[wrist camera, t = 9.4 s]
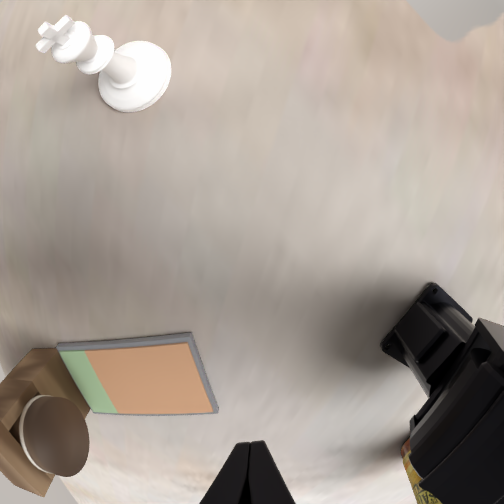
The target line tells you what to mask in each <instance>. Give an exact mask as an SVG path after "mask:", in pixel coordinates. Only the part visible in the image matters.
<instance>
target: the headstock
mask: <svg viewBox="0 0 504 504" xmlns="http://www.w3.org/2000/svg"><path fill="white" fill-rule="evenodd" d="M39 395H49V396H53V397H62V398H66V399H68V400H70V401H71V402H73V403H74V404H75V405H76V406H77V407H78V409H79V410H80V411H81V413H82V415H83V417H84V419H85V418H86V416H87V414H88V412H89V410H90V409H91V408H90V407H89V405H88V403H87V402H86V400H85V399H84V397H83V395H82V394H81V392H80V390H79V389H78V387H77V385H76V384H75V382H74V380H73V378H72V376H71V375H70V373H69V371H68V369H67V367H66V366H65V364H64V362H63V360H62V358H61V356H60V354H59V352H58V350H57V348H46V349H32V350H31V351H30V352H29V353H28V354H27V355H26V356H25V357H24V358H23V359H22V360H21V361H20V362H19V363H18V364H17V366H16V367H15V368H14V369H13V370H12V371H11V372H10V373H9V374H8V375H7V377H6V378H5V379H4V380H3V381H2V382H1V383H0V471H1V472H2V473H3V474H4V475H5V476H6V477H7V478H8V479H9V480H10V481H11V482H12V483H13V484H14V485H15V486H18V487H20V488H22V489H24V490H27V491H29V492H32V493H34V494H37V495H39V496H42V497H45V494H46V492H47V490H48V488H49V486H50V484H51V482H52V480H53V478H54V476H55V474H51V473H47V472H44V471H42V470H40V469H38V468H37V467H35V466H34V465H33V464H32V463H31V461H30V460H29V459H28V457H27V456H26V454H25V452H24V450H23V448H22V447H21V446H20V444H19V443H18V442H17V441H16V440H15V438H14V437H13V436H12V435H11V433H10V432H9V430H10V428H11V427H12V426H13V424H14V423H15V421H16V420H17V419H18V417H19V416H20V415H21V413H22V411H23V409H24V407H25V406H26V404H27V403H28V402H29V401H30V400H31V399H32V398H34V397H36V396H39Z"/></svg>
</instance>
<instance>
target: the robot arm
mask: <svg viewBox="0 0 504 504" xmlns="http://www.w3.org/2000/svg"><path fill="white" fill-rule="evenodd" d="M434 288H435V290H434V291H433V292H432V290H433V289H434ZM388 344H389V345H388ZM386 345H388V346H387V347H385V346H386ZM380 347H381V349H382V351H383V352H385V353H386V354H388V355H390V356H391V357H393V358H395V359H396V360H398V361H399V362H401V363H403V364H404V365H406V366H408V367H409V368H411V370H412V372H413V373H414V375H415V377H416V378H417V380H418V381H419V383H420V385H421V386H422V388H423V390H424V391H425V393H426V395H427V396H428V398H429V399H428V400H427V401H426V403H425V404H424V405H423V407H422V408H421V409H420V410H419V412H418V413H417V414H416V415H414V416H413V417H412V418H411V420H410V433H411V436H410V439H409V442H410V450H411V453H410V454H409V456H408V457H409V461H410V463H411V465H412V467H413V469H414V470H415V471H416V473H417V474H418V476H419V477H420V478H421V479H422V481H421V482H420V483H419V484H418V485H419V487H420V488H422V489H424V490H426V491H428V492H429V493H431V494H432V495H433V496H435V497H436V498H437V499H438V500H439V501H440V502H441V503H442V504H504V326H502V325H499V324H496V323H493V322H490V321H487V320H484V319H482V318H478V320H477V322H476V323H475V326H474V325H473V324H472V317H471V316H470V315H469V314H468V313H467V312H466V311H465V310H464V309H463V308H462V307H461V306H460V305H459V304H457V303H456V302H455V301H454V300H453V299H452V298H451V297H450V296H449V295H448V294H447V293H446V292H445V291H444V290H443V289H442V288H441V287H440V286H438V285H437V284H436V283H432V284H430V285H429V286H428V287H427V289H426V290H425V291H424V293H423V294H422V295H421V296H420V298H419V299H418V300H417V301H416V303H415V304H414V305H413V306H412V308H411V309H410V310H409V311H408V312H407V314H406V315H405V316H404V317H403V318H402V320H401V321H400V322H399V323H398V324H397V325H396V327H395V328H394V329H393V330H392V331H391V332H390V333H389V335H388V336H387V337H386V338H385V339H384V340H383V341H382V343H381V345H380ZM199 504H296V503H295V502H294V500H293V498H292V496H291V494H290V492H289V490H288V488H287V486H286V484H285V482H284V480H283V478H282V476H281V474H280V472H279V470H278V468H277V466H276V464H275V462H274V460H273V458H272V456H271V454H270V452H269V449H268V447H267V445H266V443H265V441H263V440H261V441H253V442H251V443H250V442H241V443H237V444H236V445H235V447H234V449H233V450H232V452H231V454H230V455H229V457H228V459H227V460H226V462H225V464H224V465H223V467H222V469H221V470H220V472H219V474H218V475H217V477H216V478H215V480H214V482H213V483H212V485H211V486H210V488H209V490H208V491H207V493H206V494H205V496H204V497H203V499H202V500H201V502H200V503H199Z"/></svg>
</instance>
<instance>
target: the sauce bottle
mask: <svg viewBox="0 0 504 504" xmlns="http://www.w3.org/2000/svg"><path fill="white" fill-rule="evenodd" d="M409 439H410V438H409ZM409 439H408V440H407V441H406V442H405V443H404V444H403V446H402V448H401V455H402V458H403V464H404V467H405V470H406V473H407V475H408V478H409V481H410V483H411V486H412V489H413V492H414V495H415V498H416V500H417V504H442V503H441V502H440V501H439V500H438V499H437V498H436V497H435V496H433V495H432V494H431V493H429V492H428V491H426V490H424V489H422V488H420V487H419V485H418V484H419V483H420V482H421V481H422V479H421V478H420V477H419V476H418V474H417V473H416V471H415V470H414V469H413V467H412V465H411V463H410V461H409V457H408V456H409V454H410V453H411V450H410V442H409Z"/></svg>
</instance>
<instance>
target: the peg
mask: <svg viewBox="0 0 504 504" xmlns="http://www.w3.org/2000/svg"><path fill="white" fill-rule="evenodd" d="M9 432H10V433H11V435H12V436H13V437H14V438H15V440H16V441H17V442H18V443H19V444H20V446H21V447H22V448H23V450H24V452H25V454H26V456H27V457H28V459H29V460H30V461H31V463H32V464H33V465H34V466H35V467H37V468H38V469H40V470H42V471H44V472H47V473H51V474H56V475H59V476H63V477H70V476H73V475H75V474H77V473H78V472H79V471H80V470H81V469H82V468H83V467H84V465H85V463H86V460H87V457H88V452H89V434H88V428H87V425H86V422H85V419H84V417H83V415H82V413H81V411H80V410H79V409H78V407H77V406H76V405H75V404H74V403H73V402H71V401H70V400H68V399H66V398H62V397H53V396H49V395H39V396H36V397H34V398H32V399H31V400H30V401H29V402H28V403H27V404H26V406H25V407H24V409H23V411H22V413H21V415H20V416H19V417H18V419H17V420H16V421H15V423H14V424H13V426H12V427H11V428H10V430H9Z"/></svg>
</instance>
